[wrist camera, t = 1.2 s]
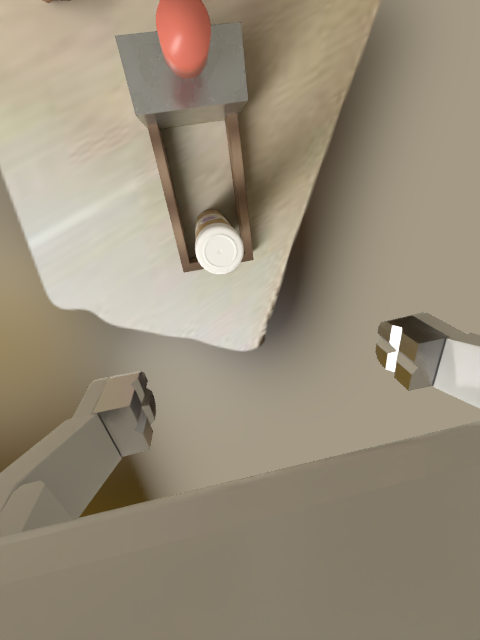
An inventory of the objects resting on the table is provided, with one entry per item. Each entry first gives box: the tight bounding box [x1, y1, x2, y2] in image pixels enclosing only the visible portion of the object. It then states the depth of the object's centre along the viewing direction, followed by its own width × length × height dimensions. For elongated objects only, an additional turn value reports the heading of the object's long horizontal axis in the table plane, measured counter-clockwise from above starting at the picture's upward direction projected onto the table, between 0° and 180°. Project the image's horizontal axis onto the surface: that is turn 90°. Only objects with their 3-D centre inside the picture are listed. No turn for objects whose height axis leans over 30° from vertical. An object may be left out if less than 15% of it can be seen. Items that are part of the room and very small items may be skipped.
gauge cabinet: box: [115, 22, 248, 129], centre depth 26 cm, size 5×10×8 cm, turn 98°
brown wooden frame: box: [147, 113, 253, 272], centre depth 33 cm, size 16×10×3 cm, turn 8°
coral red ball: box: [156, 0, 211, 79], centre depth 17 cm, size 3×3×3 cm
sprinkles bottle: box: [195, 210, 244, 274], centre depth 30 cm, size 5×5×14 cm
